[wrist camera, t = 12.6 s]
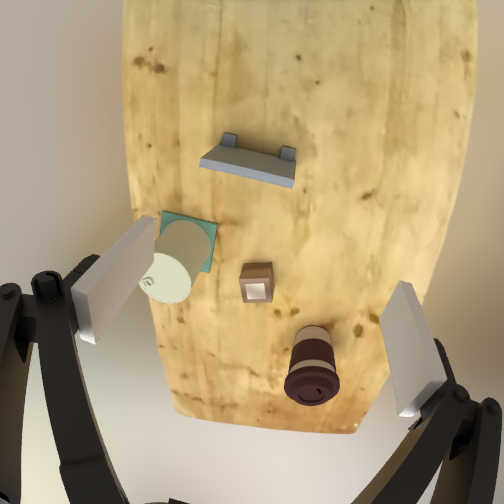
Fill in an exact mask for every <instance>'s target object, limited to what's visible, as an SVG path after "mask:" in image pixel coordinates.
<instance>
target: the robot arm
mask: <svg viewBox="0 0 504 504" xmlns="http://www.w3.org/2000/svg"><path fill="white" fill-rule="evenodd" d="M155 228H156V218H153V217H149V216H145V215H142V216H141V217H140V218H139V219H138V220H137V221H136V222H135V223H134V224H133V225H132V226H131V227H130V228H129V229H128V230H127V231H126V232H125V233H124V234H123V235H122V236H121V237H120V238H119V239H117V241H115V242H114V243H113V244H112V245H111V246H110V248H108V249H107V250H106V252H104V254H103V255H102V256H98V255H95V254H92V255H90V256H88V257H86V258H84V259H83V260H82V261H81V262H80V263H79V264H78V266H76V267H75V268H74V269H73V271H71V272H70V273H69V274H68V275H67V276H66V277H65V278H64V279H63V280H62V277H61V275H60V274H59V273H57V272H55V271H43V272H40V273H38V274H36V275H35V276H34V277H33V278H32V281H31V286H32V290H33V294H34V295H28V294H22V291H21V288H20V286H19V285H17V284H15V283H6V284H4V285H1V286H0V504H20V500H21V446H22V427H23V415H24V404H25V395H26V386H27V380H28V373H29V366H30V360H31V355H32V349H33V343H34V342H35V343H38V349H39V358H40V366H41V372H42V380H43V386H44V391H45V398H46V403H47V408H48V413H49V418H50V422H51V427H52V431H53V435H54V440H55V443H56V447H57V451H58V454H59V458H60V463H61V464H60V467H59V469H60V474H61V478H62V481H63V484H64V487H65V490H66V493H67V496H68V499H69V502H70V504H130V503H129V501H128V499H127V497H126V494H125V492H124V490H123V488H122V486H121V484H120V482H119V480H118V477H117V475H116V472H115V470H114V468H113V466H112V463H111V460H110V458H109V455H108V452H107V450H106V447H105V445H104V442H103V439H102V436H101V433H100V430H99V427H98V424H97V421H96V418H95V415H94V412H93V408H92V405H91V402H90V398H89V395H88V391H87V388H86V384H85V380H84V376H83V373H82V369H81V365H80V360H79V356H78V351H77V347H76V342H75V338H74V335H75V333H76V332H77V331H78V329H79V333H80V337H81V339H83V340H86V341H88V342H91V343H93V344H95V345H96V343H97V342H98V340H99V339H100V337H101V336H102V334H103V333H104V331H105V330H106V329H107V327H108V325H109V324H110V323H111V321H112V320H113V318H114V317H115V315H116V314H117V312H118V311H119V310H120V308H121V307H122V305H123V304H124V303H125V301H126V299H127V298H128V297H129V296H130V294H131V292H132V291H133V290H134V288H135V287H136V286H137V284H138V283H139V282H140V280H141V279H142V277H143V276H144V275H145V273H146V272H147V271H148V269H149V268H150V267H151V265H152V264H153V263H154V245H155ZM379 321H380V325H381V330H382V334H383V339H384V343H385V348H386V352H387V357H388V362H389V367H390V372H391V377H392V382H393V388H394V394H395V399H396V405H397V412H398V416H406V417H412V416H413V415H414V414H415V413H416V412H417V411H418V410H419V409H420V413H421V417H420V418H419V419H418V420H417V421H416V422H415V423H414V424H412V426H411V427H409V428H408V430H410V429H411V430H410V431H409V433H408V434H407V435H406V437H405V438H404V440H403V441H402V442H401V444H400V445H399V447H398V448H397V449H396V451H395V452H394V453H393V454H392V456H391V457H390V459H389V460H388V461H387V462H386V464H385V465H384V466H383V467H382V469H381V470H380V471H379V473H377V475H376V476H375V477H374V478H373V479H372V481H371V482H370V483H369V484H368V485H367V486H366V488H365V489H364V490H363V491H362V492H361V493H360V494H359V496H358V497H357V498H356V499H355V500H354V501H353V502H352V503H351V504H416V503H417V502H418V500H419V499H420V497H421V496H422V494H423V493H424V491H425V489H426V488H427V486H428V485H429V483H430V481H431V480H432V478H433V476H434V474H435V473H436V471H437V469H438V468H439V466H440V464H441V462H442V460H443V462H442V466H441V469H440V473H439V476H438V480H437V483H436V487H435V490H434V493H433V496H432V499H431V502H430V504H492V503H493V497H494V491H495V486H496V479H497V472H498V464H499V455H500V444H501V430H502V409H501V407H500V405H499V403H498V402H497V401H496V400H494V399H493V398H490V397H488V398H486V399H484V400H483V401H482V402H481V403H478V402H476V401H473V400H471V399H470V395H469V394H468V392H467V390H466V389H465V388H464V387H462V386H461V385H459V384H457V383H456V381H455V377H454V374H453V372H452V369H451V366H450V363H449V360H448V357H446V352H445V349H444V347H443V346H442V344H441V343H440V342H439V340H438V339H435V338H433V336H432V333H431V331H430V328H429V325H428V323H427V321H426V318H425V315H424V313H423V310H422V308H421V305H420V303H419V300H418V298H417V296H416V293H415V291H414V289H413V286H412V284H411V283H407V282H404V281H399V283H398V284H397V286H396V288H395V290H394V292H393V294H392V296H391V298H390V300H389V301H388V303H387V305H386V307H385V309H384V311H383V312H382V314H381V316H380V318H379ZM146 504H188V503H185V502H182V501H178V500H174V499H171V498H169V502H168V503H165V502H156V503H155V502H154V503H146Z"/></svg>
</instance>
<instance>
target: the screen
mask: <svg viewBox="0 0 504 504" xmlns="http://www.w3.org/2000/svg"><path fill="white" fill-rule="evenodd" d="M236 140H237V135H234V134H230V133H223V138H222V143H221V144H218V145H217V146H216V147H214V148H213V149H212V150H210V151H209V152H208V153H206V154H205V155H204V156H203V157H201V159H200V165H199V167H202V168H207V169H212V170H216V171H221V172H225V173H230V174H234V175H238V176H243V177H247V178H251V179H255V180H259V181H263V182H267V183H271V184H275V185H279V186H283V187H287V188H291V189H292V187H293V184H294V180H295V168H296V161H293V159H294V155H295V151H296V149H294V148H290V147H286V146H283V147H282V151H281V155H280V157H277V156H273V155H269V154H264V153H260V152H256V151H252V150H247V149H243V148H238V147H235V145H236Z"/></svg>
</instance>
